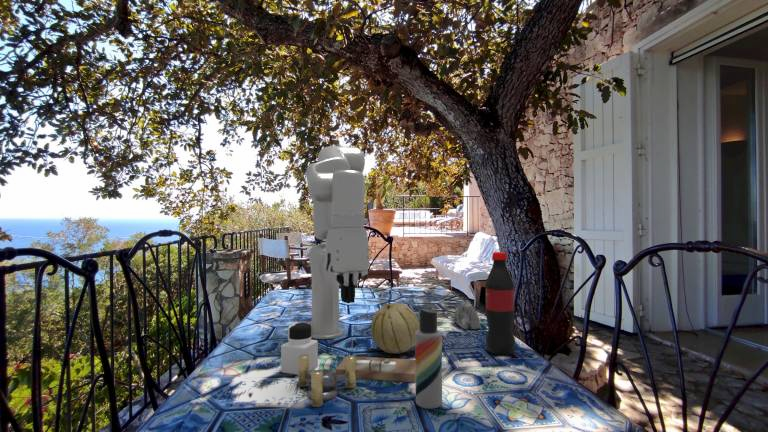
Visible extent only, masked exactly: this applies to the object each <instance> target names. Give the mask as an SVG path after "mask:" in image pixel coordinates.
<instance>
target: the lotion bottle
mask: <svg viewBox="0 0 768 432" xmlns="http://www.w3.org/2000/svg"><path fill="white" fill-rule="evenodd" d="M418 313H419V315H418V316H419V324H420V330H418V331H416V332H415V345H414V346H415V347H414V349H415V350H414V353H415V354H414V355H415V357H414V360H415V382H414V383H415V388H414V389H415V403H416V405H417V406H418V407H420V408H422V409H430V410H431V409H434V410H435V409H438V408H440V407H441V405H442V404H443V346H442V345H443V335H442V332H441V331H440V330H438V312H437V311H435V310H433V309H431V308H430V309H429V308H421V309H420V311H419V312H418Z"/></svg>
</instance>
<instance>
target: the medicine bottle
mask: <svg viewBox="0 0 768 432" xmlns="http://www.w3.org/2000/svg"><path fill="white" fill-rule="evenodd" d="M318 350H319V341H318V339H312V338H311V325H310V324H308V323H301V322H295V323H292V324H290V325H289V326H288V328H287V341H286V342H285V343H283V344H282V345H281V346H280V372H281V373H282V374H283V373H284V374H289V375H290V374H291V375H298V376H299V356H300V355H309V373H311V372H312V371H314V370H315V369H316V368H318V366H319V365H318V364H319V363H318V362H319V356H318V355H319V351H318Z"/></svg>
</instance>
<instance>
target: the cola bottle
mask: <svg viewBox="0 0 768 432" xmlns="http://www.w3.org/2000/svg"><path fill="white" fill-rule="evenodd" d="M491 260H492V261H493V263H492V267H491V270H490V272H489V274H488V276H487V278H486V281H485V285H484V286H485V287H484V288H485V316H486V322H487V333H486V336H485V346H486V349H487V350H488V352H489V353H491V354H493V355H496V356H509V355H511V354H513V353H514V351H515V348H516V338H515V336H514V333H513V326H514V323H515V322H514V321H515V315H516V314H515V313H516V312H515V310H516V309H515V283H514V281H513V278H512V276H511V274H510V272H509V270H508V267H507V263H506V261H508V259H507V253H506V252H505V251H504V252H503V251H495V252H492V259H491Z"/></svg>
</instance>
